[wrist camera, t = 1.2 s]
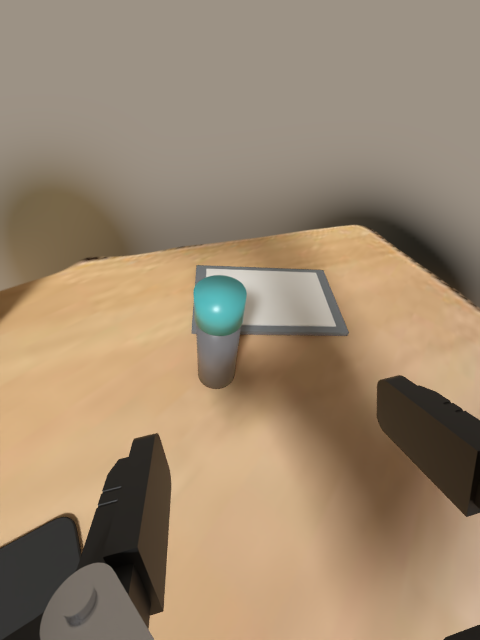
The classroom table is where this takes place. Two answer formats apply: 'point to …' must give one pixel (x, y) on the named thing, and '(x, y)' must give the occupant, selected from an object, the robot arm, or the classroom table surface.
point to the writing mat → (283, 301)
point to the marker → (218, 327)
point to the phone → (35, 571)
